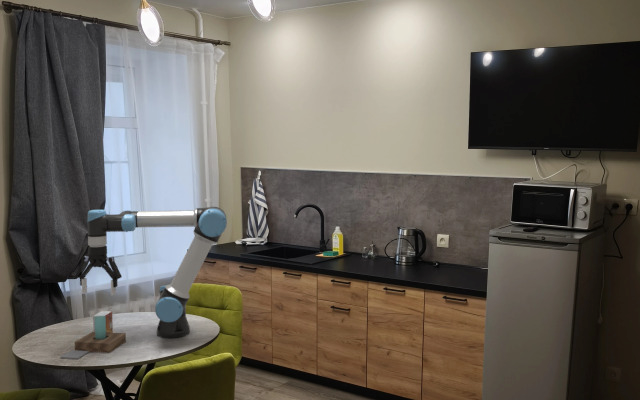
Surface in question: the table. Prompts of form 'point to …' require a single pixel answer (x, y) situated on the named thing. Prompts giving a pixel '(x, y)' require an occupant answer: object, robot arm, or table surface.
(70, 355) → the mat
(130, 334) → the table surface
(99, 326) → the plug
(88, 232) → the robot arm
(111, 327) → the small box
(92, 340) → the wooden block with hole
